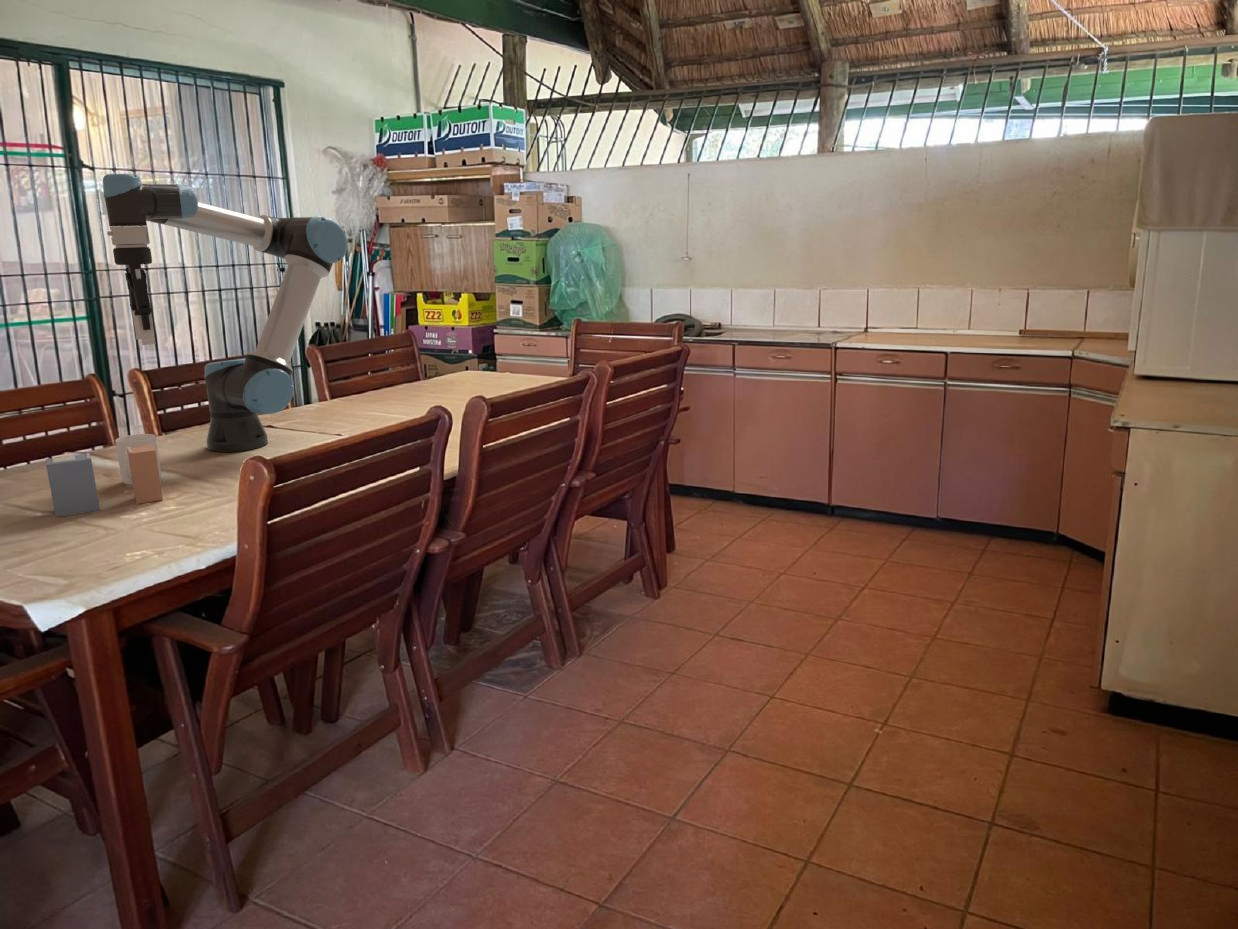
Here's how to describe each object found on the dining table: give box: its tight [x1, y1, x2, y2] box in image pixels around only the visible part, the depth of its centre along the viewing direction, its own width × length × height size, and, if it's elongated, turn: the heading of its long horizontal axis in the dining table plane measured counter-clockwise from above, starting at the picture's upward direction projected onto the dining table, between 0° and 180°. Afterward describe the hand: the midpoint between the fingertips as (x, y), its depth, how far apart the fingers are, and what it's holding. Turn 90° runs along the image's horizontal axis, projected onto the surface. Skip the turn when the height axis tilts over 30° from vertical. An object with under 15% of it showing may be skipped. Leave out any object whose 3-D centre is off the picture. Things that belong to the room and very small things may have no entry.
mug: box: [114, 433, 162, 486], centre depth 212 cm, size 12×8×10 cm
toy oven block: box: [45, 452, 101, 518], centre depth 192 cm, size 8×6×11 cm
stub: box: [127, 445, 164, 505], centre depth 199 cm, size 5×6×11 cm
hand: (145, 341), depth 211 cm, fingers open, 13 cm apart
